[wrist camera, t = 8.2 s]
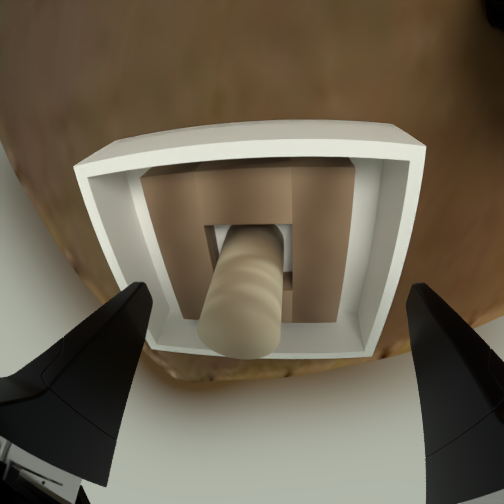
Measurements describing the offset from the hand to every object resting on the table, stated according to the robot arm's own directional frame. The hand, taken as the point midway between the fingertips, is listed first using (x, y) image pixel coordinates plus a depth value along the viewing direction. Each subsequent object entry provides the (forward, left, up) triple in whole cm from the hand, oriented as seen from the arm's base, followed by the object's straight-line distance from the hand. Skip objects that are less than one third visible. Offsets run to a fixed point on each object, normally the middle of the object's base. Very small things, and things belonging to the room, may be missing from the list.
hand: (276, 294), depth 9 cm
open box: (+2, +5, -11) cm, 12 cm away
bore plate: (+2, +5, -10) cm, 11 cm away
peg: (+2, +5, -10) cm, 11 cm away
